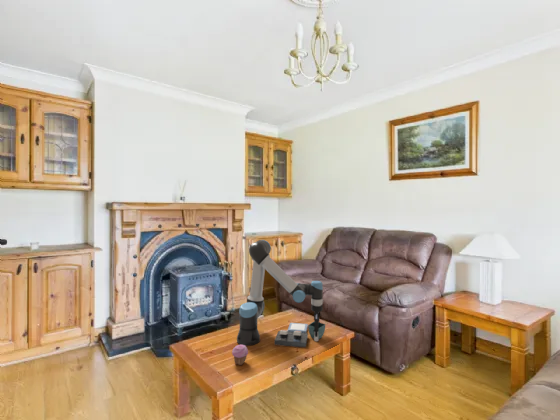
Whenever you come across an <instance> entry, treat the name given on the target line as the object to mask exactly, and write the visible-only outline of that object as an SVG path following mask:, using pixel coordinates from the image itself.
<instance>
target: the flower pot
mask: <svg viewBox="0 0 560 420" xmlns="http://www.w3.org/2000/svg"><path fill="white" fill-rule="evenodd" d="M314 322H315V320H313V321H312V322H311V323H310V324H309V323H308V327H307V329H308V333H309V334H308V335H310V337H311V338H312V339H314V331H313V330H314ZM319 322H320V321H319ZM319 322H318V341H319V340H320V339H322V338H323V336H324V334H325V331H326V323H323V322H320V323H319Z"/></svg>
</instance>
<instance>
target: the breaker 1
mask: <svg viewBox="0 0 560 420" xmlns="http://www.w3.org/2000/svg"><path fill="white" fill-rule="evenodd" d="M279 331H280V334H284V335H287V334H288V329H280V330H279Z"/></svg>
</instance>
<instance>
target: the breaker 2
mask: <svg viewBox="0 0 560 420" xmlns="http://www.w3.org/2000/svg"><path fill="white" fill-rule="evenodd" d="M294 335H299V336H301V335H302V332H301V331H294Z"/></svg>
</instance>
